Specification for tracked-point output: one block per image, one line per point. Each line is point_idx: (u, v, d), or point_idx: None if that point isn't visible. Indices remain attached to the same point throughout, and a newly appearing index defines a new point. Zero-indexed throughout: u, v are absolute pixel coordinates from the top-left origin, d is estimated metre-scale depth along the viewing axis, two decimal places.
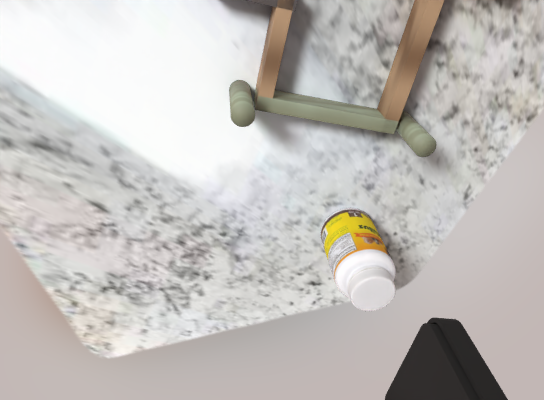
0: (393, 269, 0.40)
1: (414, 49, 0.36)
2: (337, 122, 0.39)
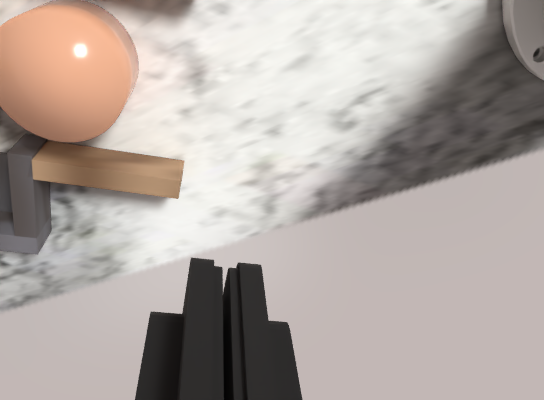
0: None
1: None
2: None
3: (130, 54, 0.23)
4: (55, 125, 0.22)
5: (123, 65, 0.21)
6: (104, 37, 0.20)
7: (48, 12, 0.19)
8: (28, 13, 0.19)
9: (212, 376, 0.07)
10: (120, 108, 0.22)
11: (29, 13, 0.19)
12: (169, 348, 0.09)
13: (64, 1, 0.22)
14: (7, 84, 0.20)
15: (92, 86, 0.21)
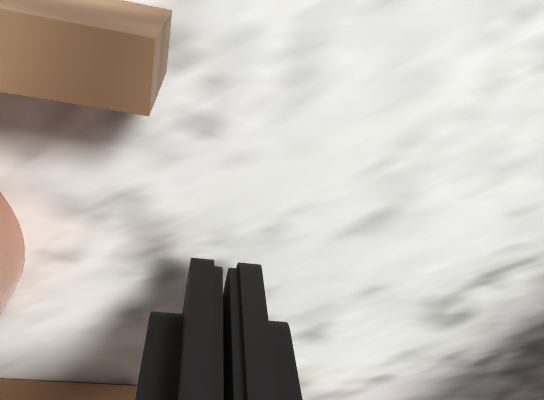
0: None
1: None
2: None
3: None
4: None
5: None
6: None
7: None
8: None
9: (212, 376, 0.07)
10: None
11: None
12: (169, 348, 0.09)
13: None
14: None
15: None
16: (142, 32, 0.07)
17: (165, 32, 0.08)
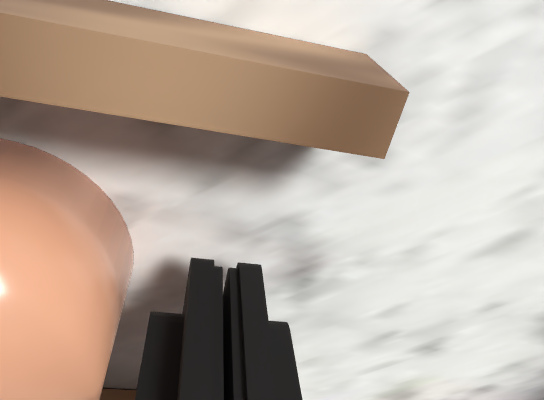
0: None
1: None
2: None
3: (113, 264, 0.10)
4: None
5: (92, 337, 0.08)
6: (34, 289, 0.07)
7: None
8: None
9: (212, 376, 0.07)
10: None
11: None
12: (169, 348, 0.09)
13: None
14: None
15: (9, 396, 0.08)
16: (389, 85, 0.07)
17: None
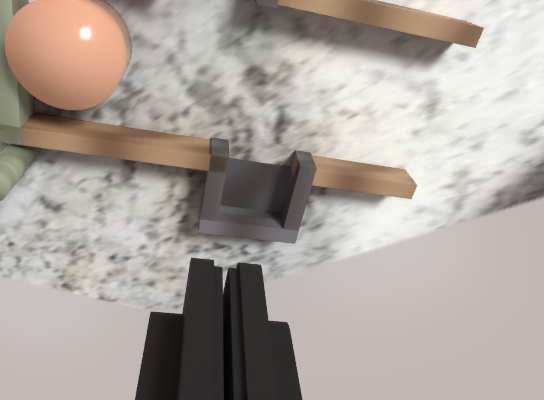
0: None
1: (120, 146, 0.29)
2: None
3: (125, 37, 0.27)
4: (62, 95, 0.26)
5: (119, 45, 0.25)
6: (104, 21, 0.24)
7: None
8: (42, 0, 0.23)
9: (212, 376, 0.07)
10: (117, 81, 0.26)
11: (43, 0, 0.23)
12: (169, 348, 0.09)
13: None
14: (22, 59, 0.25)
15: (94, 62, 0.25)
16: (477, 26, 0.28)
17: None
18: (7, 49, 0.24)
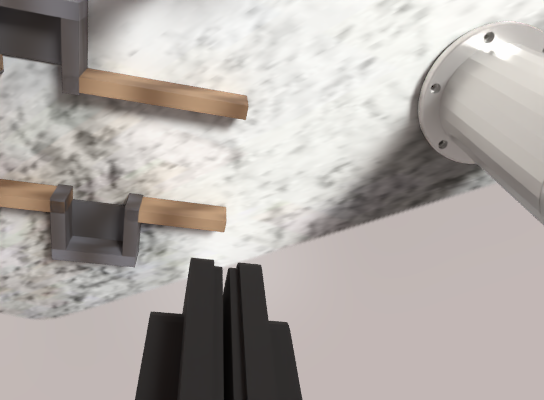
0: None
1: None
2: None
3: None
4: None
5: None
6: None
7: None
8: None
9: (212, 376, 0.07)
10: None
11: None
12: (169, 348, 0.09)
13: None
14: None
15: None
16: (245, 104, 0.36)
17: None
18: None
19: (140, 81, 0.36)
